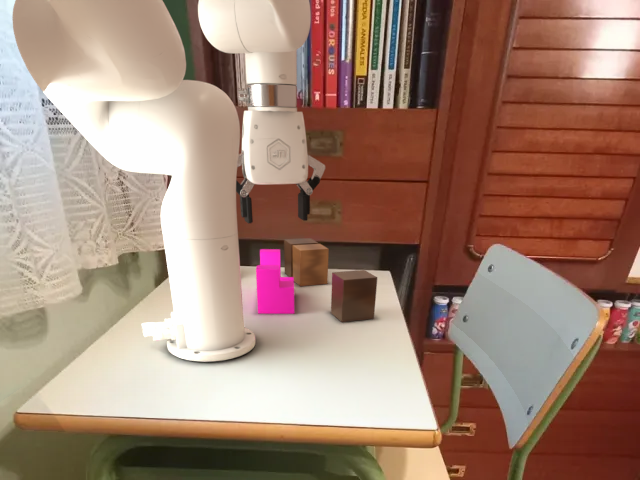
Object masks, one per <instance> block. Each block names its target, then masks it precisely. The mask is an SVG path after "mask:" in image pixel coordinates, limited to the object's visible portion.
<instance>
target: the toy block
mask: <svg viewBox="0 0 640 480" xmlns="http://www.w3.org/2000/svg"><path fill="white" fill-rule="evenodd" d="M281 266H282V265H281V249H280V248H279V249H277V248H276V249H274V248H273V249H271V248H270V249H269V248H260V249H259V264H258V265H256V268H255V279H256V298H257V299H256V300H257V301H256V302H257V314H258V315H259V314H261V315H262V314H263V315H264V314H272V315H275V314H276V315H277V314H278V315H279V314H280V315H281V314H283V315H285V314H286V315H287V314H289V315H291V314H293V315H294V314H295V281H294V277H289V276H282V275H281V274H282V271H281Z"/></svg>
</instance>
